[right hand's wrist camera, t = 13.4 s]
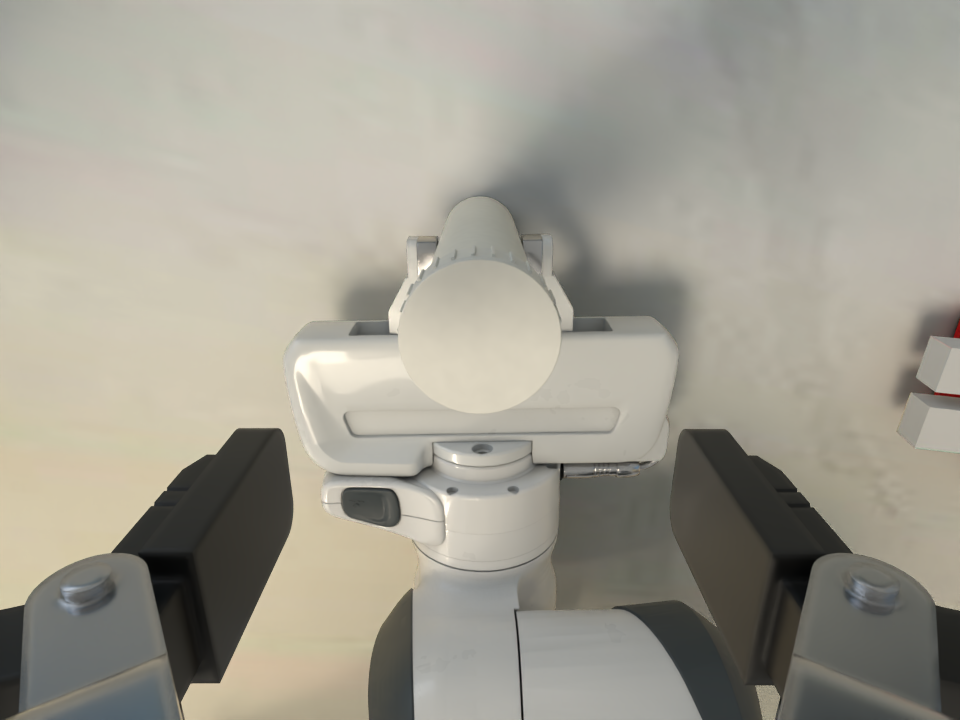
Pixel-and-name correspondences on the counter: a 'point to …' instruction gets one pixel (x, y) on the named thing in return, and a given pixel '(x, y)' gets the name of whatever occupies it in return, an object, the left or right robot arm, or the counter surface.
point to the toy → (936, 399)
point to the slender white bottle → (480, 228)
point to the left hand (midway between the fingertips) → (478, 236)
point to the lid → (479, 330)
